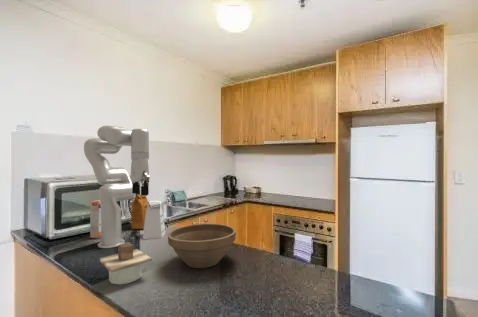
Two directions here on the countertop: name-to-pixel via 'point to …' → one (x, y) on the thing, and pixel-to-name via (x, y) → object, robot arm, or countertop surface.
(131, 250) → the lid
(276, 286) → the countertop surface
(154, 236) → the grater
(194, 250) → the flower pot
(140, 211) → the coffee package
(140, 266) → the bowl
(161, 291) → the countertop surface
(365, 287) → the countertop surface
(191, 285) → the countertop surface
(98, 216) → the cracker box
